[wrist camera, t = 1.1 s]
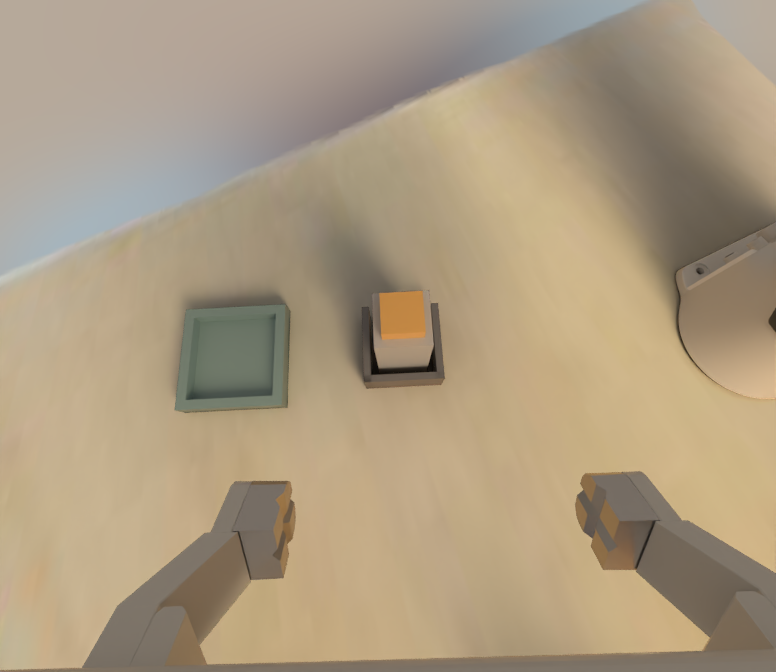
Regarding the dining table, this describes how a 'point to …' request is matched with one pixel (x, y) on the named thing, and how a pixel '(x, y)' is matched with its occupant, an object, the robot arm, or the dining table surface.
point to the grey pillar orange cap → (402, 331)
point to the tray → (234, 359)
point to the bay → (403, 378)
